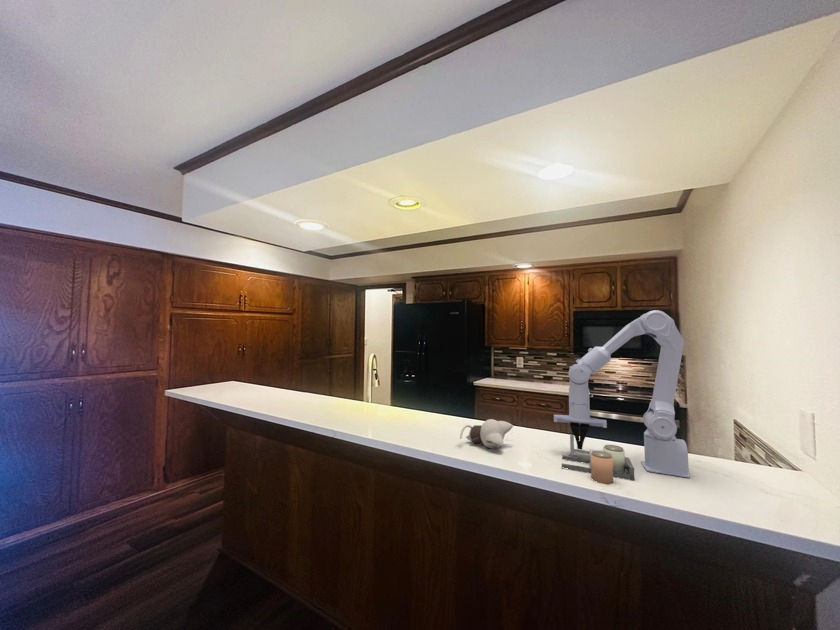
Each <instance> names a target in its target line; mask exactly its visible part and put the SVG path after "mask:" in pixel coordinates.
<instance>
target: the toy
mask: <svg viewBox="0 0 840 630" xmlns="http://www.w3.org/2000/svg"><path fill="white" fill-rule="evenodd" d="M466 428H470V430H469V433H468V435H467V436H465V438H466V439H467V440H469V442H471V443H473V444H475V445H477V444H483V445H484V446H485V447H486V448H488V450H490V449H492V448H493V449H494V448H496V447H498V446H499V447H500V446H501V447H502V446H504V438H505V435H506V434H507V433H509V432H510V431H511V430H512V428H514V425H513V424H511V423H509V422H507V421H505V420H495V419H493V418H492V419H491V418H490V419H487V420H485V421H484V422H482V425H476V424H474V425H473V426H472V425H470V424H465V425H464V426H463V427H462V428H461V431H460V433H459V439H460V440H461V439H463V433H464V431H465V430H466Z"/></svg>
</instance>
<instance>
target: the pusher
mask: <svg viewBox="0 0 840 630" xmlns="http://www.w3.org/2000/svg"><path fill="white" fill-rule="evenodd" d="M569 440H570V441H569V445H570V450H569V453H570V455H569V456H572V457H575V453H581V454H585V455H586V454H587V455H588V456H589V459H590V464H589V466H590V467H591V453H592V451H595V450H594V449H592V448H591V449H589V450H584V449H582V450H581V449H577V448H576V449H575V436H574V434H570V435H569Z"/></svg>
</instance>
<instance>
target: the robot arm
mask: <svg viewBox="0 0 840 630" xmlns="http://www.w3.org/2000/svg"><path fill="white" fill-rule="evenodd" d="M642 335H648V336H650V337H651V338H653V339H654V340H655V341H656V342H657V344H659V346H660V352H659V356H658V363H657V367H656V375H655V379H654V380H655V381H654V384H653V392H652V396H651V397H652V398H651V400H650V402H649V404H648V405H649V406H648V409H647V411H645V413H643V417H642V420H643V421H642V422H643V424H644V426H645V427H646V429H645V431H644V432H643V444H644V445H643V446H644V459H642V460H641V459H640V463H641V465H643V468H644V470H645V471H646V472H651V473H657V474H664V475H668V476H677V477H682V478H688V479H689V478H690V475H689V474H690V473H689V471H690V470H689V469H690V468H689V452H688V451H689V450H688V446H687V442H686V441H685V440H684V439H682V438H681V439H680V438H677V437H676V434H677V431H678V426H677V424H676V420H675V415H676V411H675V407H674V405H675V404H674V403H675V399H676V392H677V386H678V381H679V374H680V369H681V365H682V364H681V362H682V356H683V351H684V347H685V346H684V345H685V341H684V339H683V337H682V334H680V331H679V330H678V328H677V326H676V324H675V320H674V319H673V318H672V317H670V316H669V315H668V314H667V313H665V312H664V311H662V310H659V309H657V310H656V309H655V310H654V309H653V310H650V311H648V312H646V313H643V314H642V315H640V317H637V318H636V319H634V320H632V321H631V322H630V323H628V324H626V325H625V326H624V327H623V328H622V329H621V330H619V331H618V332H617V333H616V334H614V336H612V337H611V338H610V339H609V340H608V341H607V342H606V343H605V344H603V346H594V347H593V348H592V347H589V348H588V350H587V351H588V352H587V353H585V354H584V355H583V356H582V357H581V358H580V359H579V358H577V359H576V360H575V362H576V364H575V363H574V364H572V365H571V366H570V367H569V370H568V378H569V382H568V386H569V387H568V412H569V413H568V415H567V414H564V415H563V414H553V422H554V423H565V424H569V426H570V429H571V431H572V435H574V440H575V442H576V447H577V448H576V449H577V450H583V445H584V442H585V439H586V437H587V434H588V433H589V430H590V426H591V427H601V428H604V429H607V428H608V426H607V424H608V423H607V419H601V418H600V419H599V418H595V417H591V416H590V415H591V414H590V413H591V412H590V410H591V409H590V406H591V405H590V388H589V380H590V377H591V375H595V374H596V373H597V372H599V370H601V369H602V368H603V367H605V366H606V365H607V364H608V363H610V362H611V359H612V357H611V355H612V353H614V352H616V351H617V350H618V349H620V348H621V347H622V346H623V345H624V344H626V343H627V342H628V341H630V340H631V339H632V338H634V337H637V336H638V337H639V336H642Z"/></svg>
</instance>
